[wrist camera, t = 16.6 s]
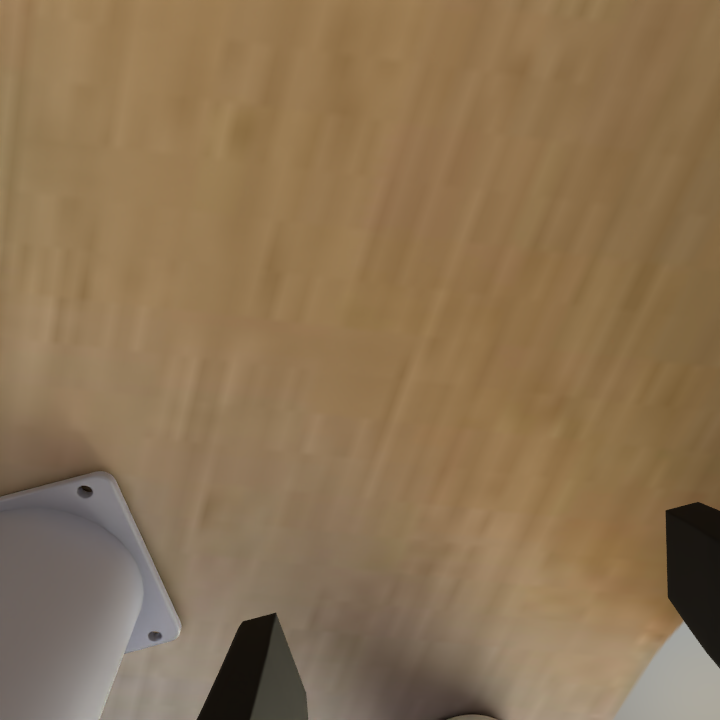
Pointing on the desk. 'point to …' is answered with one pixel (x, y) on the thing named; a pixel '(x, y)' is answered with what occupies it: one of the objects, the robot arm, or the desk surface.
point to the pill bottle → (472, 717)
